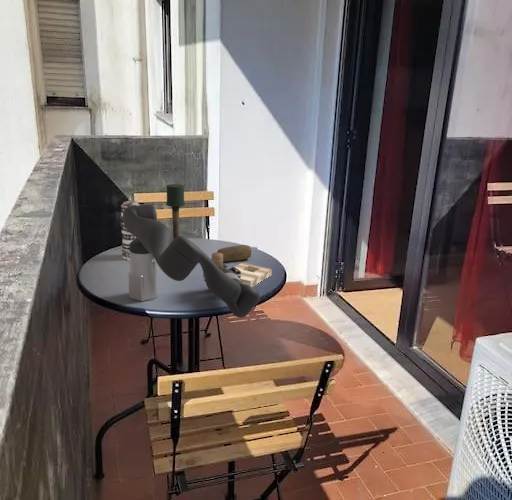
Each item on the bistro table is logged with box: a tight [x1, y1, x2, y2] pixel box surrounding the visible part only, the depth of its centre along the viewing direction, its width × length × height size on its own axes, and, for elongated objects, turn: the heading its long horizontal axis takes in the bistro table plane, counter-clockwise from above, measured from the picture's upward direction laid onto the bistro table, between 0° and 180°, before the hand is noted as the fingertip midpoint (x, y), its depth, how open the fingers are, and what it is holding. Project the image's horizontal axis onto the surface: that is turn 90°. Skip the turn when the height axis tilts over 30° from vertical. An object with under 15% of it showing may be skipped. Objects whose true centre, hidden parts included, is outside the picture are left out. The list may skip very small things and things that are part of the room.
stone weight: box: [216, 244, 252, 262], centre depth 218 cm, size 15×7×7 cm, turn 117°
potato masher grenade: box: [165, 183, 186, 239], centre depth 228 cm, size 8×9×30 cm
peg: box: [211, 252, 224, 270], centre depth 183 cm, size 4×4×14 cm
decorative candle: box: [119, 200, 140, 261], centre depth 214 cm, size 9×9×25 cm
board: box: [234, 262, 272, 288], centre depth 197 cm, size 17×14×3 cm
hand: (215, 267), depth 185 cm, fingers open, 5 cm apart
